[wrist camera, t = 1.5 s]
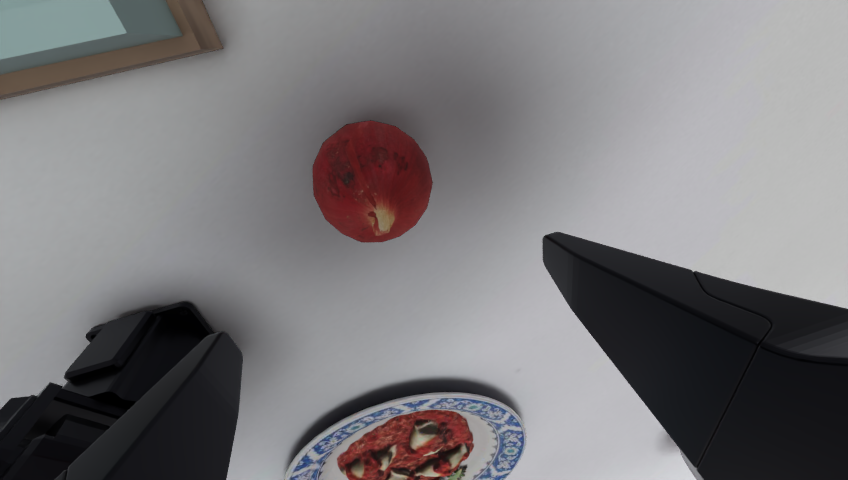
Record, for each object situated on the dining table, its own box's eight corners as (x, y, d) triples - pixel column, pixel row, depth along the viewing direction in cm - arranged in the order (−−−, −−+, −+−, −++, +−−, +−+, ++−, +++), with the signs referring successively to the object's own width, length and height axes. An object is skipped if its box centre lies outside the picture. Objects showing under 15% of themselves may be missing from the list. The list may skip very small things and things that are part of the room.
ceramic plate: (227, 449, 31) (217, 485, 28) (485, 335, 30) (498, 361, 28) (357, 533, 44) (358, 562, 42) (535, 455, 44) (547, 480, 41)
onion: (295, 151, 19) (267, 213, 12) (375, 86, 18) (395, 112, 11) (362, 222, 22) (371, 303, 15) (434, 169, 21) (478, 228, 14)
